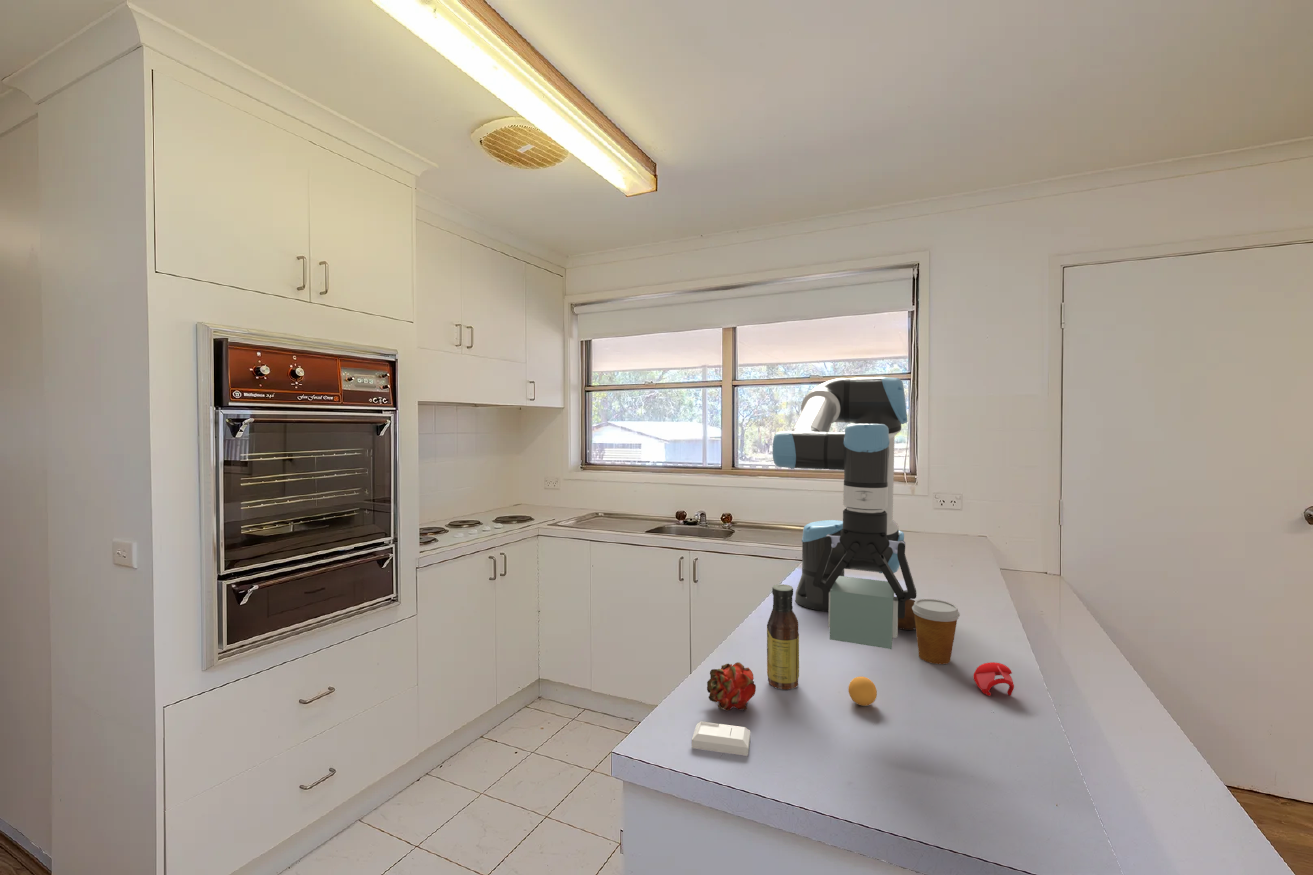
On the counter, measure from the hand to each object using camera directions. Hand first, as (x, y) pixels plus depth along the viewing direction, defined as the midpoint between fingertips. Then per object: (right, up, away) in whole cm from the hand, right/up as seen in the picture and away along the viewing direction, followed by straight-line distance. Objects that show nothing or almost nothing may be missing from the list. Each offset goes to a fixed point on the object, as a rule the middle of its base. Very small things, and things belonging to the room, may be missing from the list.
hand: (862, 630), depth 104 cm
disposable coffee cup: (+24, -14, +23) cm, 36 cm away
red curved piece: (+28, -15, +8) cm, 33 cm away
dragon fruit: (-23, -15, +2) cm, 28 cm away
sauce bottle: (-12, -14, +10) cm, 22 cm away
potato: (+25, -13, +39) cm, 48 cm away
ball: (+1, -12, +2) cm, 12 cm away
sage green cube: (0, -1, 0) cm, 1 cm away
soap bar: (-27, -16, -10) cm, 33 cm away
